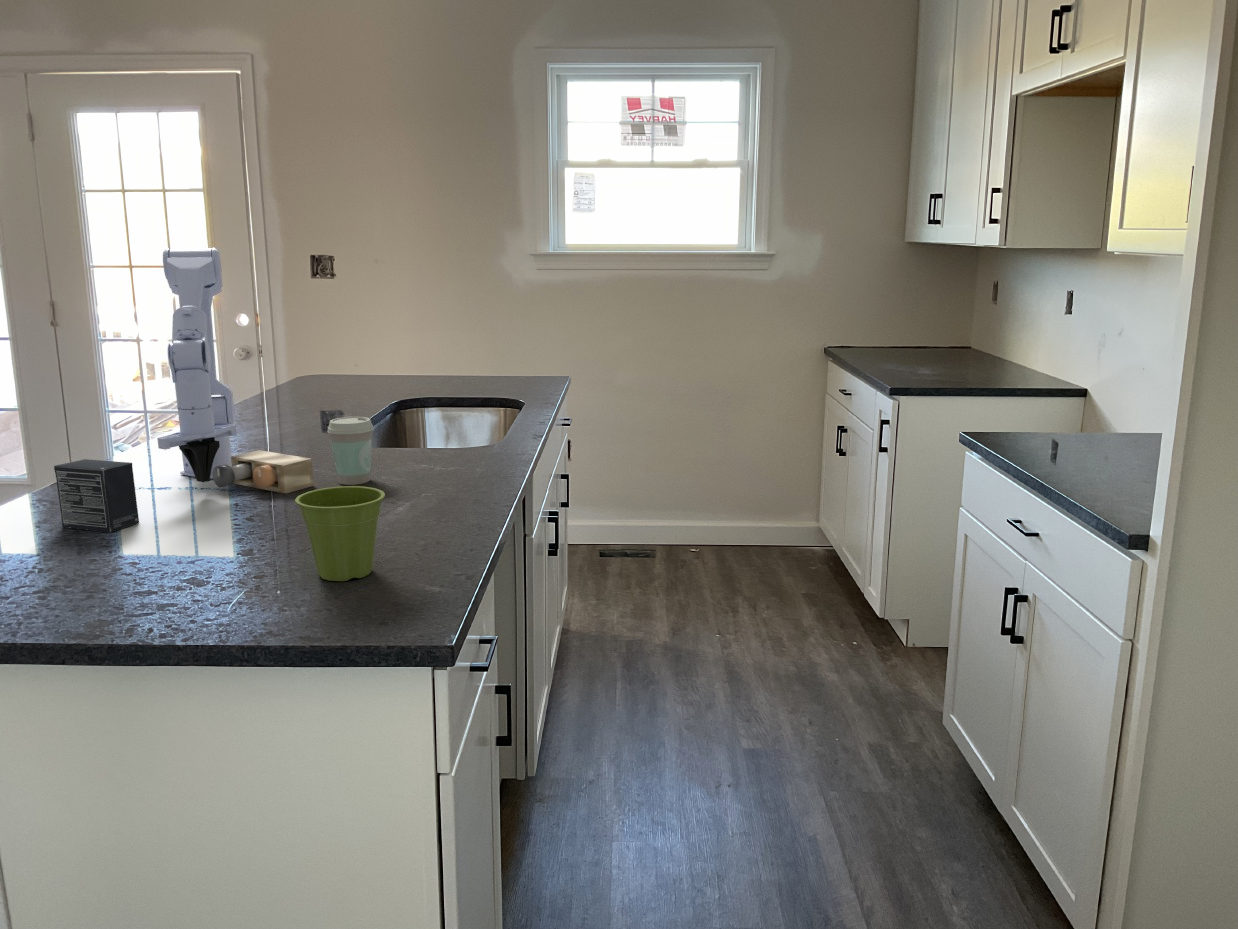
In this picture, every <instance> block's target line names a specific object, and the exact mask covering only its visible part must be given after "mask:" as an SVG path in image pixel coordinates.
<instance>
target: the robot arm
mask: <svg viewBox="0 0 1238 929" xmlns="http://www.w3.org/2000/svg"><path fill="white" fill-rule="evenodd" d="M221 261H222V260H221V254H220V251H219V249H218V248H216V247H211V248H169V247H166V248H165V249H164V250H163V251H162V265H163V267H162V268H163V272H164V276H165V277H164V278H166V280H167V284H168V287H169V289H171V292H172V294H174V295H176V296H178V304H179V308H176V309H175V311H174V312H173V314H172V329H171V330H172V334H171V336H172V337H171V343H168V344H167V360H168V365H169V368H170V372H171V380H172V383H173V384H174V388H175V390H174V391H175V398H176V406H177V414H178V422H179V423H178V424H179V431H177V432H174V433H170V434H168V435H164V436H161V437H160V436H159V437H157V446H158V449H160V450H165V451H166V450H169V449H171V448H176V447H178V449H179V451H181V455H182V456H181V457H182V464H183V470H182V471H180V475H185V476H189V477H194V478H195V479H196V482H199V483H206V482H210V480H213V476H212V472H213V469H214V468H215V467H216V466H221V465H225V464H227V465H229V466H230V467H231V466H232V464H231V456H233V454H232V442H231V437H234V436H237V434H238V432H237V425H236V422H237V421H236V409H235V408H236V407H235V400H234V396H233V395H234V394H233V393H234V392H233V390H231V387H230V386H229V385H227V384H225V383H223V382H222V381H220V380H218V379H217V378H218V377H217V369H216V368H217V367H216V356H215V355H216V354H215V344H214V343H215V342H214V331H213V329H214V328H213V318H212V317H213V316H212V306H213V305H212V304H213V298H214V296H217V295H218V294H220V293H222V287H223V278H222V277H223V276H222V275H223V274H222V272H223V271H222V262H221Z"/></svg>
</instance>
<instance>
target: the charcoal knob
mask: <svg viewBox="0 0 1238 929" xmlns="http://www.w3.org/2000/svg"><path fill="white" fill-rule="evenodd" d="M212 476H213V479H212V480H213V482H214V484H215V485H216V486H217V487H218V488H226V487H229V486H232V485H233V484H234V481H237V480H241V479H245V478H249V477H253V473H252V463H250V462H248V463H244V464H239V465H235V466H231V467H230V466H229V465H227V464H225V465H221V466H216V467H215V468H214V469H213V472H212Z"/></svg>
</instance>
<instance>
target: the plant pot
mask: <svg viewBox="0 0 1238 929" xmlns="http://www.w3.org/2000/svg"><path fill="white" fill-rule="evenodd" d="M385 496H386V493H385V492H384V490H381V489H379V488H375V487H368V486H359V485H345V486H342V485H341V486H333V487H331V486H330V487H324V488H319V489H318V488H317V489H314V490H310V491H307V492H305V493H302V494H300V495H297V497H296V498H295V499H294V502H295V503H296V504H297V505H298V506H299V508H300V511H301V515H302V519H303V520H304V521H305V526H306V529H307V534H308V537H309V543H310V545H311V550H312V554H313V558H314V562H315V566H316V569H317V574H318V576H319V577H320V578H321V579H323V580H326V581H329V582H332V581H333V582H334V581H335V582H345V581H349V580H352V579H353V578H357V579H363V578H365V577H367V576H368V575H370V573H371V572H372V571H373V570H372V569H373V564H374V563H373V562H374V555H375V547H376V546H375V545H376V538H377V537H376V536H377V529H378V527H377V526H378V518H379V515H380V513H381V505H382V504H381V503H382V500H384V498H385Z"/></svg>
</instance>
